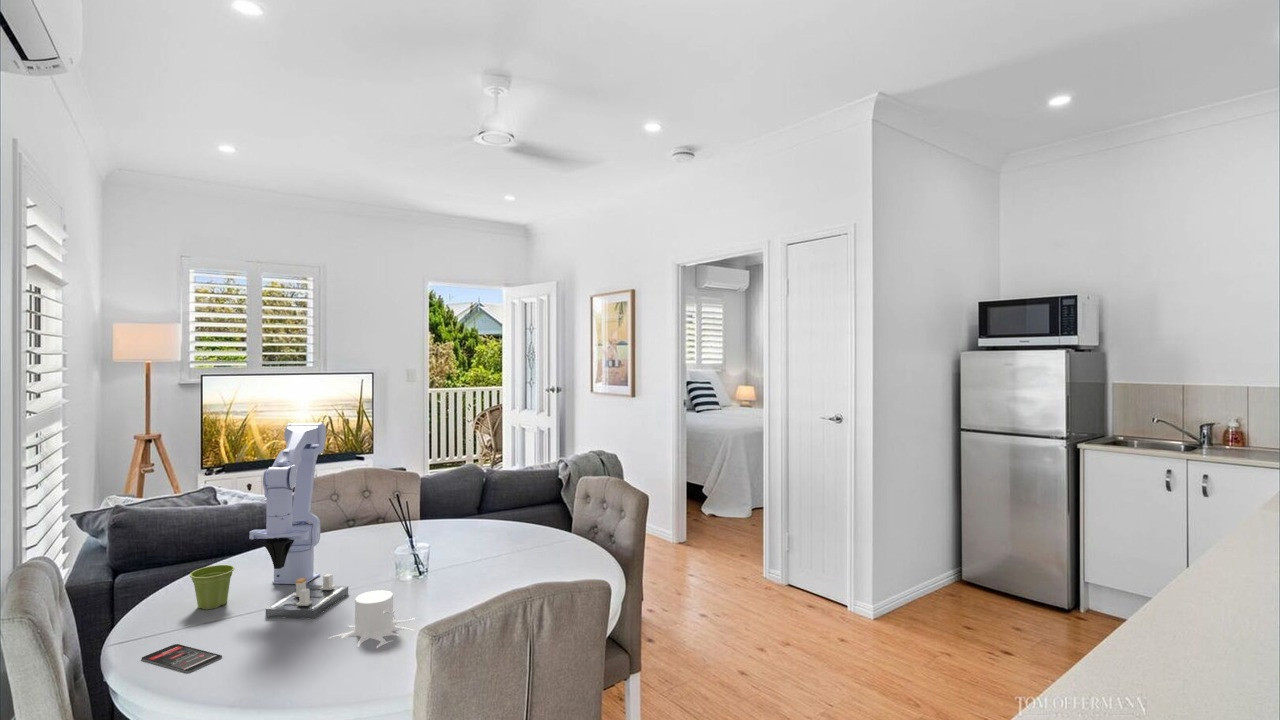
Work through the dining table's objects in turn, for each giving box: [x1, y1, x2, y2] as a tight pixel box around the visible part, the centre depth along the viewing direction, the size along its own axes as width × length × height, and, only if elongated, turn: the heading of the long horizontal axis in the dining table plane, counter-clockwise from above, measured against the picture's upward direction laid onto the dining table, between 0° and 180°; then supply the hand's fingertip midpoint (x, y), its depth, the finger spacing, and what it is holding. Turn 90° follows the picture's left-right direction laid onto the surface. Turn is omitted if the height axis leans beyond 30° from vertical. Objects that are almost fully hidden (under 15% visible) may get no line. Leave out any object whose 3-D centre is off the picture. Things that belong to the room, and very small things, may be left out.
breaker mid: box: [293, 578, 307, 597], centre depth 161 cm, size 3×2×4 cm
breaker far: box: [320, 573, 336, 590], centre depth 166 cm, size 3×2×3 cm
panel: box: [265, 584, 349, 619], centre depth 161 cm, size 12×16×2 cm
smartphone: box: [141, 643, 223, 674], centre depth 133 cm, size 7×1×15 cm
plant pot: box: [189, 564, 235, 610], centre depth 161 cm, size 9×9×9 cm
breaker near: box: [296, 589, 313, 606], centre depth 156 cm, size 3×2×3 cm
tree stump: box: [328, 589, 416, 649], centre depth 148 cm, size 20×19×8 cm
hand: (279, 567), depth 162 cm, fingers closed
